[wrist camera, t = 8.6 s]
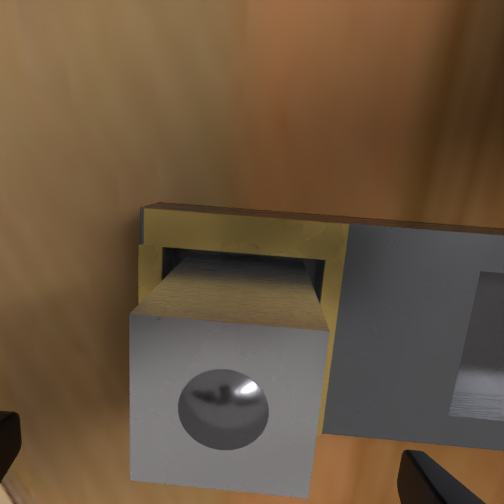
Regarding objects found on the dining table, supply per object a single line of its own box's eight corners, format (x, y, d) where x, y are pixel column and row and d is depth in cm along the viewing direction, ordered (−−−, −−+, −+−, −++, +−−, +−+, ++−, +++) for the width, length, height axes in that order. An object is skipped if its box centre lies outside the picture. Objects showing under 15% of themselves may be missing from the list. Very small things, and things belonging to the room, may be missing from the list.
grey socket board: (625, 237, 15) (696, 251, 13) (569, 422, 17) (620, 465, 15) (159, 202, 16) (138, 208, 13) (157, 383, 18) (138, 419, 15)
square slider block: (303, 261, 16) (329, 331, 9) (292, 365, 17) (308, 499, 10) (189, 252, 16) (128, 314, 9) (186, 355, 17) (129, 481, 10)
